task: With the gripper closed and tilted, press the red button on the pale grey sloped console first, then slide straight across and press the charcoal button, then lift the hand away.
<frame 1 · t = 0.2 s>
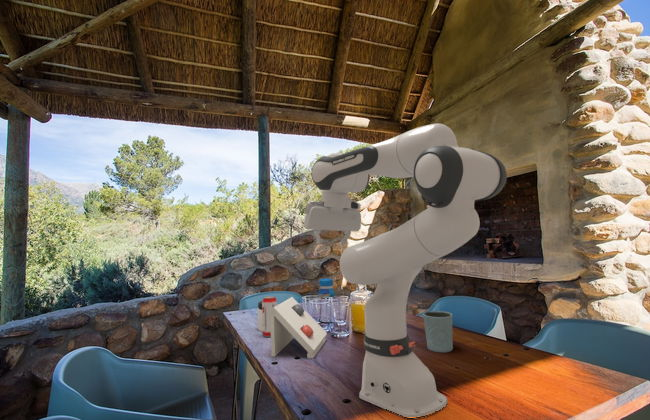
hand: (331, 244, 112), 38 cm above the table, tool pointing down, fingers open, 8 cm apart
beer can: (270, 335, 143), on the table
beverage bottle: (327, 321, 162), on the table
console: (301, 347, 126), on the table
charcoal button: (297, 310, 131), point 13 cm above the table, slide at 0.0 cm
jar: (267, 329, 153), on the table
grey green cup: (439, 348, 120), on the table
red button: (306, 332, 121), point 7 cm above the table, slide at 0.0 cm
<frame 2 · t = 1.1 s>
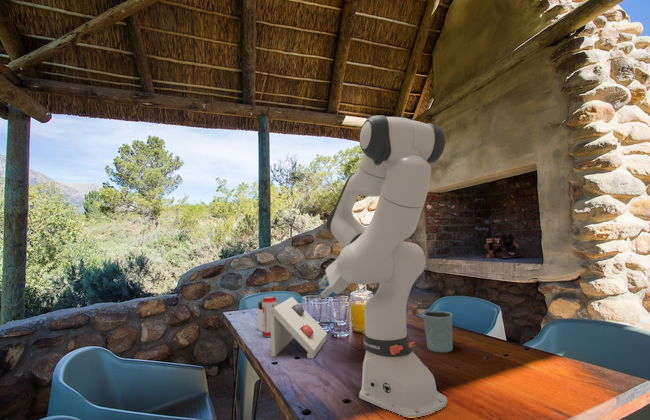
hand: (321, 290, 121), 22 cm above the table, tool tilted 50°, fingers open, 8 cm apart
nothing on the table moved.
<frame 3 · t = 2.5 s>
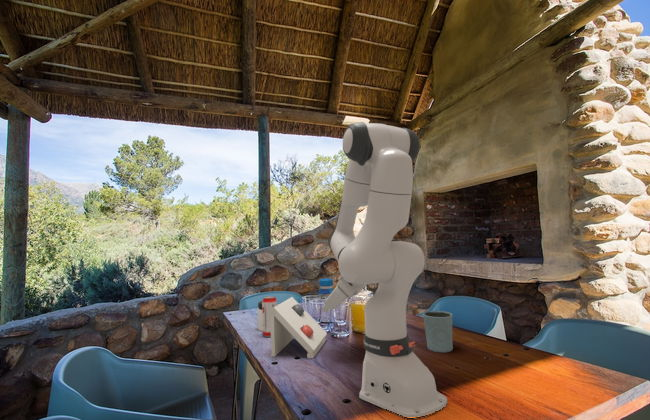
hand: (324, 310, 121), 15 cm above the table, tool tilted 45°, fingers closed
nothing on the table moved.
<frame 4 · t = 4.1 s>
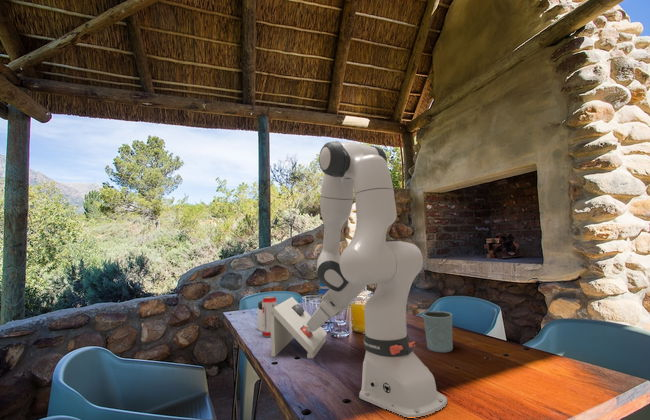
hand: (308, 330, 122), 8 cm above the table, tool tilted 45°, fingers closed, pressing on red button
red button: (305, 333, 122), point 6 cm above the table, slide at 0.7 cm, touching gripper
everything else where it was.
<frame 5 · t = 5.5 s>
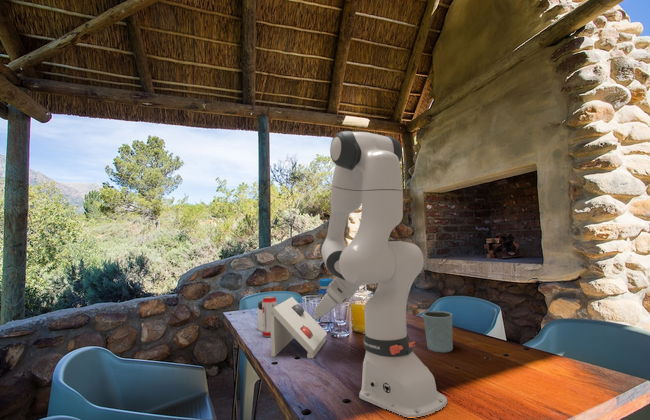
hand: (315, 317, 122), 12 cm above the table, tool tilted 45°, fingers closed
red button: (305, 333, 122), point 6 cm above the table, slide at 0.8 cm
everything else where it was.
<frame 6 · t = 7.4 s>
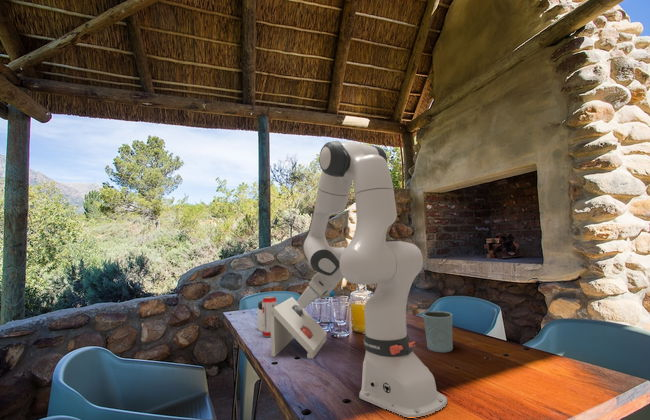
hand: (299, 308, 131), 13 cm above the table, tool tilted 45°, fingers closed, pressing on charcoal button
charcoal button: (296, 312, 131), point 12 cm above the table, slide at 0.7 cm, touching gripper
everything else where it was.
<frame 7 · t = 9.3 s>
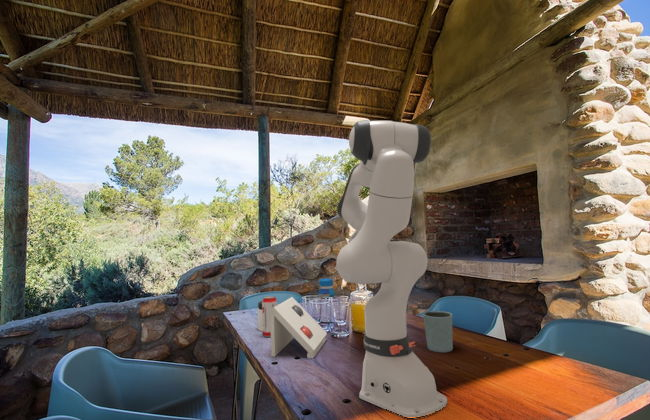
hand: (336, 269, 133), 28 cm above the table, tool tilted 45°, fingers closed
charcoal button: (296, 312, 131), point 12 cm above the table, slide at 0.8 cm
everything else where it was.
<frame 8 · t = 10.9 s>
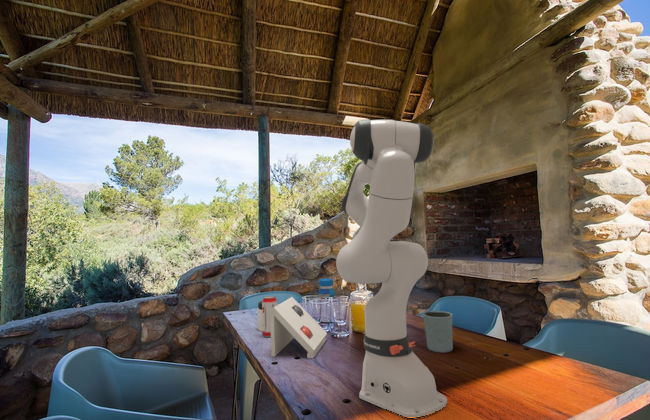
hand: (340, 265, 134), 29 cm above the table, tool tilted 45°, fingers closed
nothing on the table moved.
at the end: red button slide at 0.8 cm; charcoal button slide at 0.8 cm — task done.
